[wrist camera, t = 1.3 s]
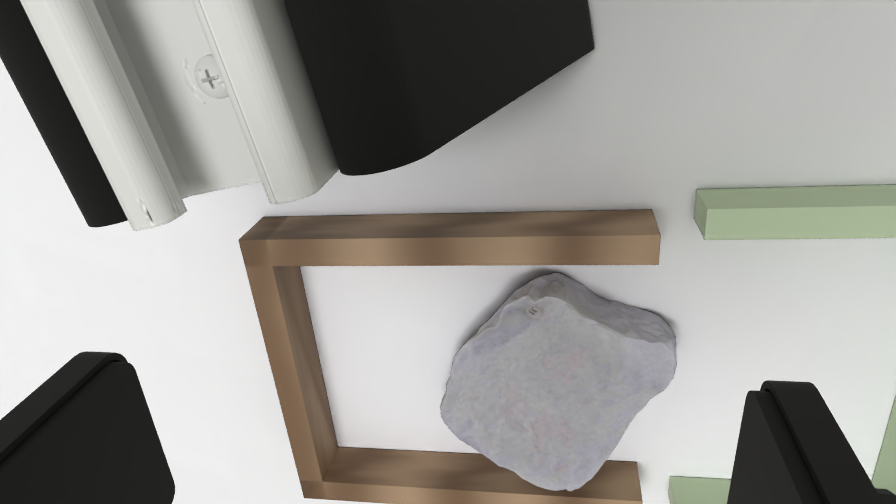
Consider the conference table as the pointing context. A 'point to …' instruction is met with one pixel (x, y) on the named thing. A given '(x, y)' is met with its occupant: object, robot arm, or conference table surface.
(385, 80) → the device stand
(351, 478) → the brown wooden u frame
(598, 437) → the stone block
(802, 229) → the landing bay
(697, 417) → the conference table surface
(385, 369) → the conference table surface
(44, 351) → the conference table surface
